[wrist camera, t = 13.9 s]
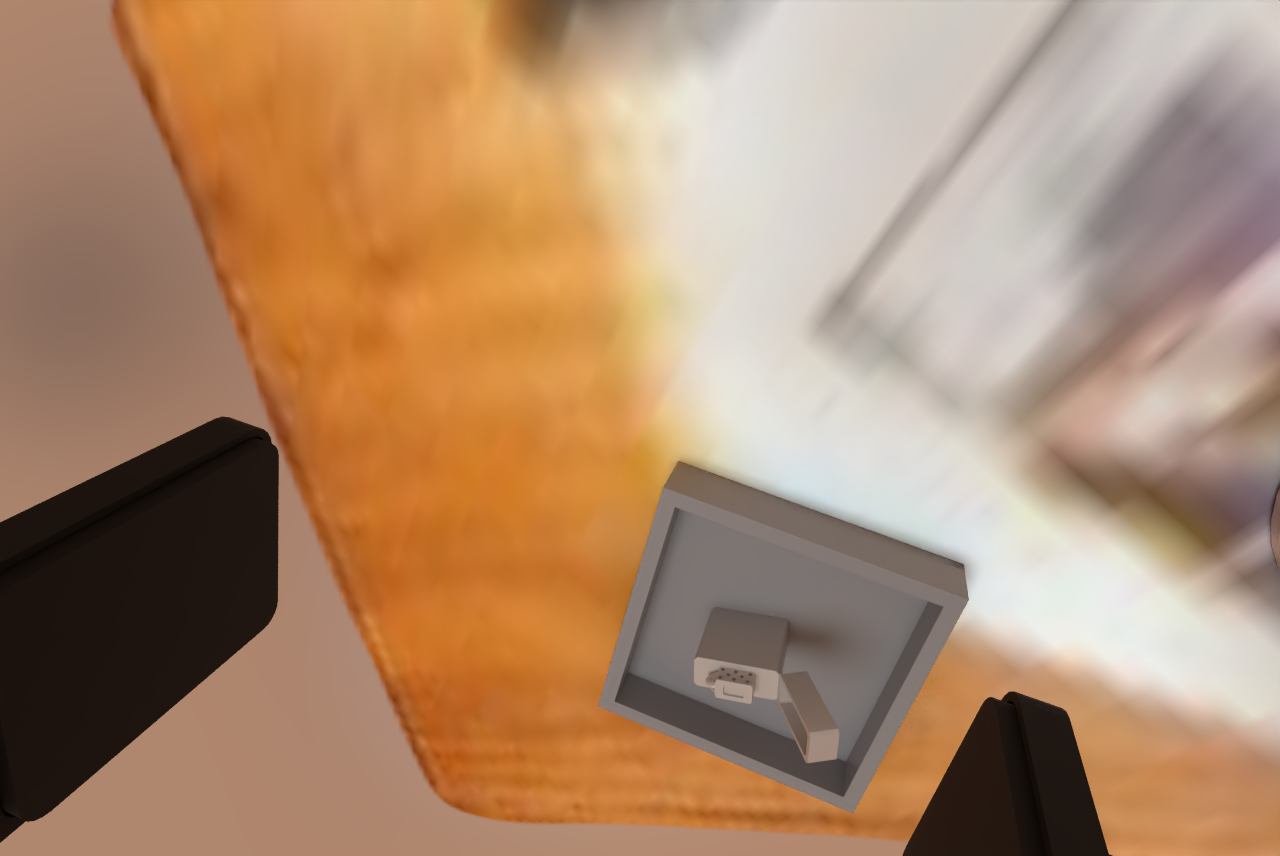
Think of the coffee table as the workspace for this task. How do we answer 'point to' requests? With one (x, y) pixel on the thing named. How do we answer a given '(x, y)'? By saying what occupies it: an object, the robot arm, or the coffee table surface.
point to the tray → (818, 631)
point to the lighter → (764, 676)
